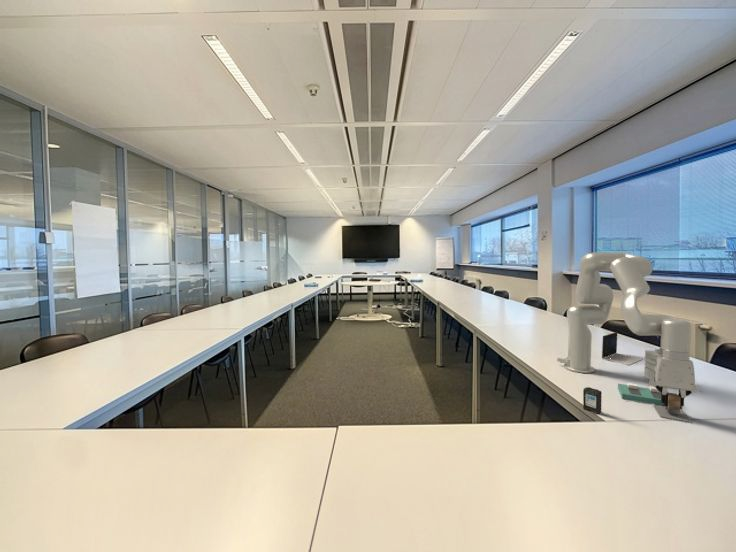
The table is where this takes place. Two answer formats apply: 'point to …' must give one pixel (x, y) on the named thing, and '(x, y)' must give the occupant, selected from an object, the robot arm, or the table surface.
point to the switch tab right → (654, 389)
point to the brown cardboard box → (673, 403)
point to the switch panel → (640, 394)
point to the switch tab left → (632, 386)
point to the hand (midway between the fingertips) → (672, 405)
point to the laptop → (611, 348)
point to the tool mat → (665, 414)
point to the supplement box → (650, 363)
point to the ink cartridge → (592, 400)
